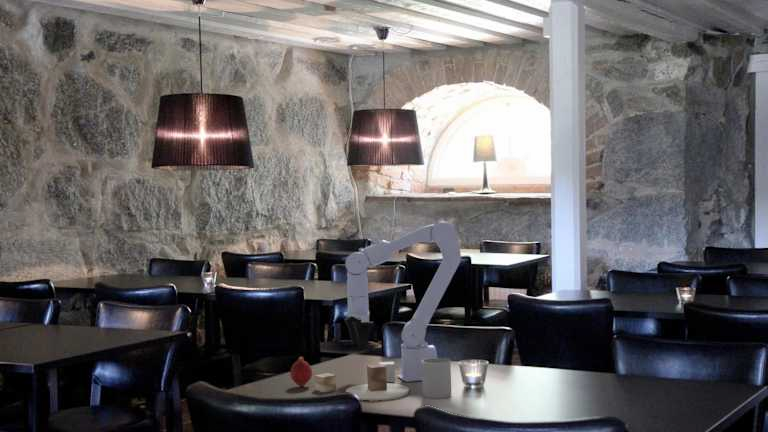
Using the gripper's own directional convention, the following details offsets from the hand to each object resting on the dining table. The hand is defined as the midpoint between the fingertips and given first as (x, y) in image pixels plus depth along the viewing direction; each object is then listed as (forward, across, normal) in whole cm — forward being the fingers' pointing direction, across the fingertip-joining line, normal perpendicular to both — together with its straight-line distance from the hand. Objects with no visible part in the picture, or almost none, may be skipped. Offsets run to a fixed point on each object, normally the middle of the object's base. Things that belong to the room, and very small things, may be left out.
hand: (359, 345), depth 270 cm
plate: (+9, +20, -1) cm, 22 cm away
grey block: (+10, +5, +6) cm, 12 cm away
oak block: (+10, +9, -12) cm, 18 cm away
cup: (+10, +28, +13) cm, 33 cm away
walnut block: (+8, +20, -1) cm, 22 cm away
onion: (+10, +2, -17) cm, 20 cm away
